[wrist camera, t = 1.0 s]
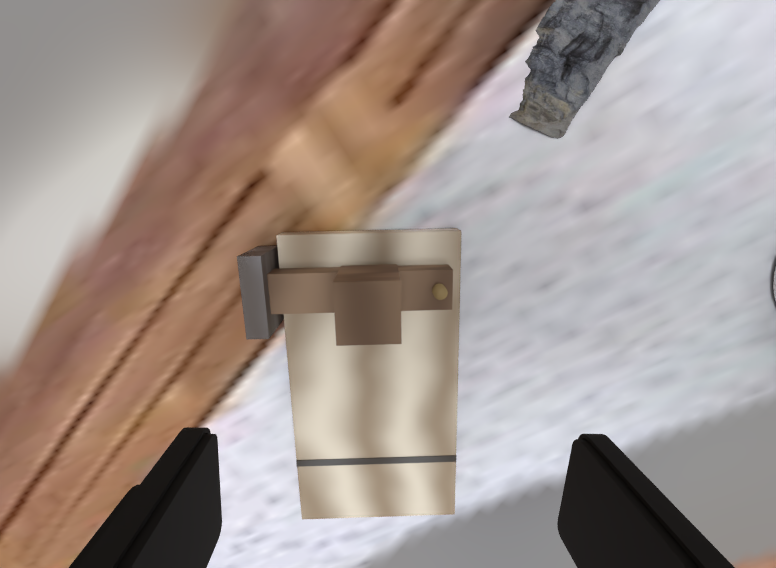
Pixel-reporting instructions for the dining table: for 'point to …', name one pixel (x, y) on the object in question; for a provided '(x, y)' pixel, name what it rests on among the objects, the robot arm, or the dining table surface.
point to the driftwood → (574, 57)
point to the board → (374, 387)
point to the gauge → (339, 295)
